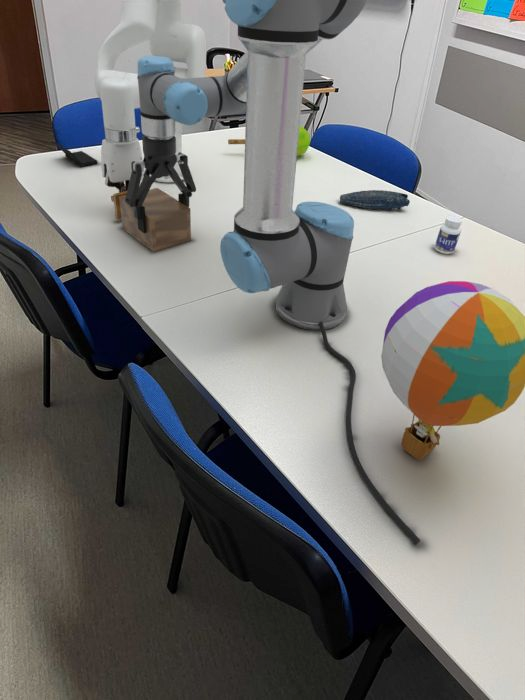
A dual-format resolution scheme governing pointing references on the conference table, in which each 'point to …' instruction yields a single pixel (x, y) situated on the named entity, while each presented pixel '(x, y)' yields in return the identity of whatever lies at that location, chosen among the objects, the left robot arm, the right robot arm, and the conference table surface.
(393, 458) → the conference table surface
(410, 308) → the toy
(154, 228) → the wooden grain block
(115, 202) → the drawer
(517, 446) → the conference table surface
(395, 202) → the fish model
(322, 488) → the conference table surface
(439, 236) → the pill bottle
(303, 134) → the decorative tree
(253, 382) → the conference table surface
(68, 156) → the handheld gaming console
